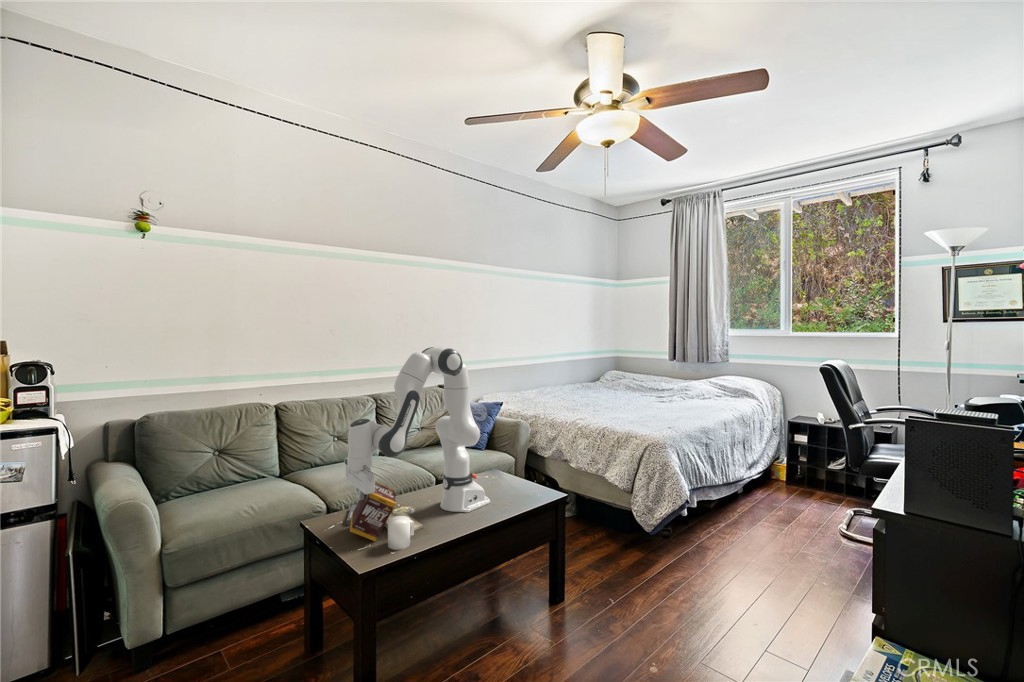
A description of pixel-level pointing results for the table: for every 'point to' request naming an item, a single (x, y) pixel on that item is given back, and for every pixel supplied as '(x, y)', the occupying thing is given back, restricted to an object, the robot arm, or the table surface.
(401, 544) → the white mug
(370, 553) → the table surface
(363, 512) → the supplement box
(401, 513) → the beige paperback book
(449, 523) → the table surface
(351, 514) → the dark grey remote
